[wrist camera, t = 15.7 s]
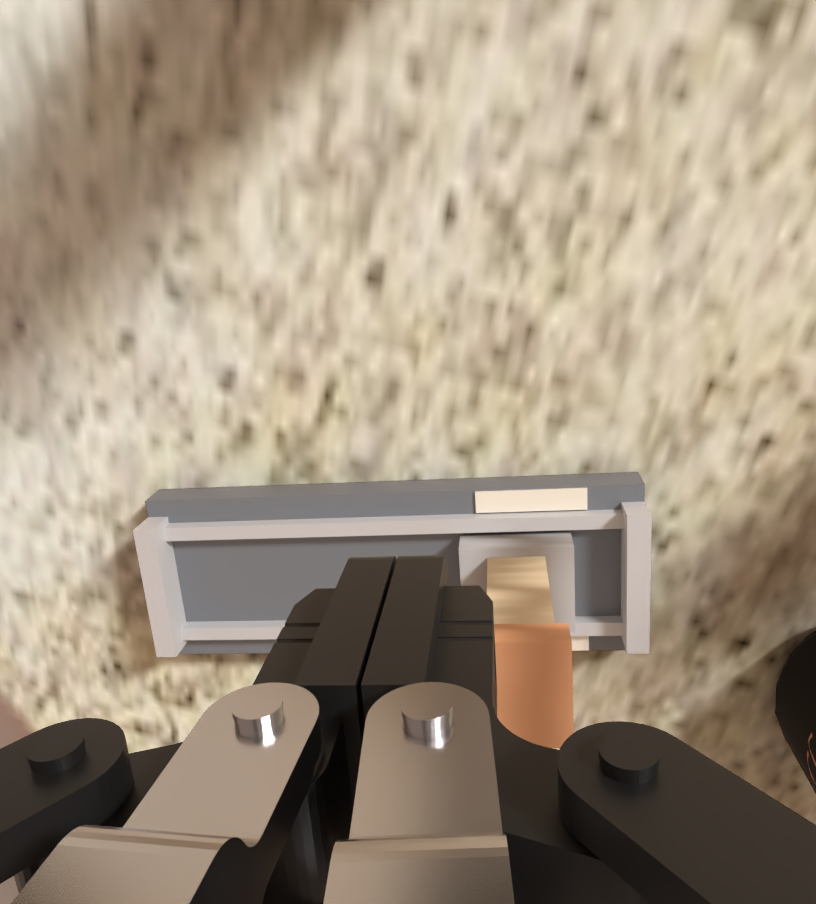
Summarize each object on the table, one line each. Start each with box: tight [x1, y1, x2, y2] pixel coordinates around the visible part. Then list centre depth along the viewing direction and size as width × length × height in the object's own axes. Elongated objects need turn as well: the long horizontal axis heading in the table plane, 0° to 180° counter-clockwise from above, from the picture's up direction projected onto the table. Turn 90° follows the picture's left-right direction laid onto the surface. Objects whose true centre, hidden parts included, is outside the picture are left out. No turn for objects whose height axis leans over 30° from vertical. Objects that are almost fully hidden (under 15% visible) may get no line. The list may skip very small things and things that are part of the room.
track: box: [133, 472, 652, 657], centre depth 44 cm, size 28×10×4 cm, turn 93°
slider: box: [459, 532, 575, 748], centre depth 37 cm, size 6×5×12 cm
